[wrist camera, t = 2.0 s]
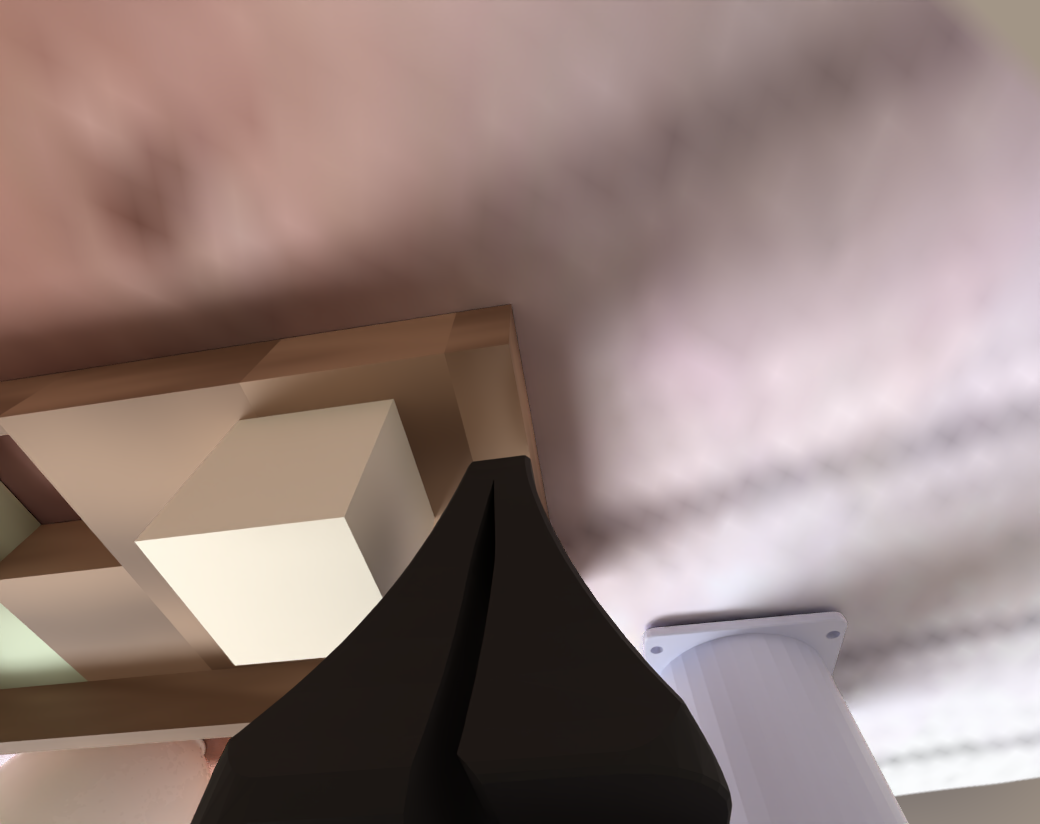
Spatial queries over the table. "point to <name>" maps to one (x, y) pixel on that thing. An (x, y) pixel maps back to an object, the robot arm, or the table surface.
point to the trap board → (156, 479)
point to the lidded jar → (105, 784)
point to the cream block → (293, 530)
